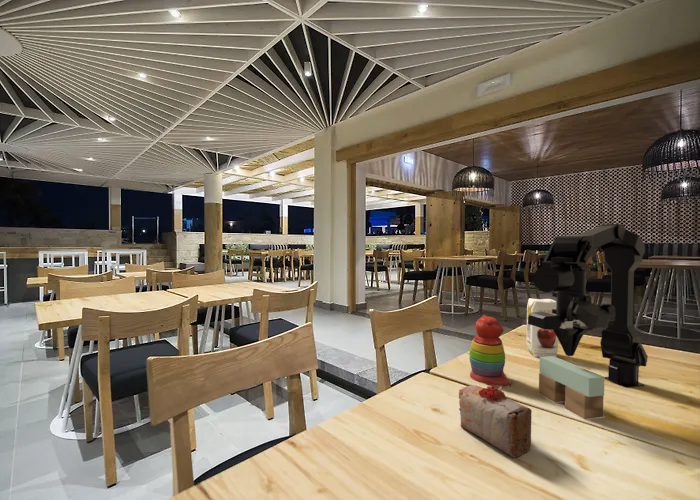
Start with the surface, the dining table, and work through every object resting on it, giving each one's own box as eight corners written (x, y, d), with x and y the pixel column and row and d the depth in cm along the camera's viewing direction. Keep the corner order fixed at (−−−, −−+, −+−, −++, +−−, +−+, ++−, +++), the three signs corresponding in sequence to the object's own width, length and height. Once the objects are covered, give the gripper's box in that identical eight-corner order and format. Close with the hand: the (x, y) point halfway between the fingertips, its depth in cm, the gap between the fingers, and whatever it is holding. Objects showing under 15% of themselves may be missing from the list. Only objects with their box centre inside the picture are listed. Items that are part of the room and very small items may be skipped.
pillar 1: (555, 391, 88) (555, 371, 88) (572, 400, 83) (572, 379, 83) (538, 393, 87) (539, 373, 87) (554, 402, 82) (554, 381, 82)
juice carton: (524, 350, 122) (525, 297, 122) (550, 351, 121) (551, 298, 121) (532, 357, 115) (533, 301, 114) (560, 359, 114) (561, 301, 113)
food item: (452, 426, 72) (452, 379, 72) (478, 416, 76) (478, 372, 76) (510, 462, 60) (511, 406, 60) (537, 449, 64) (538, 397, 64)
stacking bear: (512, 389, 90) (513, 321, 90) (472, 385, 92) (472, 319, 92) (502, 373, 101) (503, 313, 100) (466, 371, 103) (467, 311, 103)
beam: (539, 372, 87) (539, 357, 87) (552, 371, 88) (553, 355, 88) (588, 397, 74) (589, 378, 73) (604, 395, 74) (604, 377, 74)
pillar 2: (582, 405, 80) (583, 384, 80) (603, 416, 75) (603, 394, 75) (564, 408, 79) (565, 386, 79) (584, 419, 74) (584, 396, 74)
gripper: (565, 295, 70) (564, 371, 71) (638, 293, 74) (636, 364, 75) (526, 288, 81) (525, 354, 82) (591, 286, 85) (590, 349, 86)
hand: (569, 355), depth 81 cm, fingers closed
